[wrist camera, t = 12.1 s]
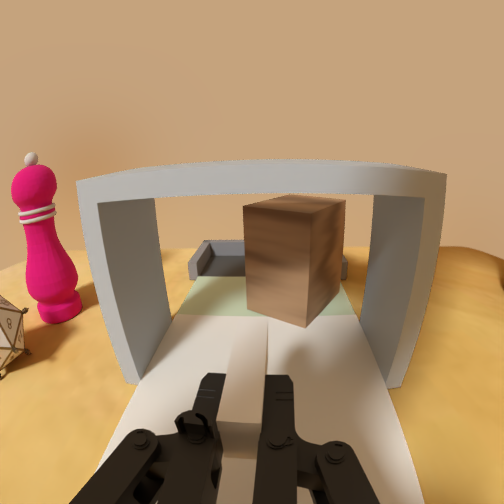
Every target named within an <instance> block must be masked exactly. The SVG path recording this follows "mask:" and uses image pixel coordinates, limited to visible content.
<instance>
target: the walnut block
mask: <svg viewBox="0 0 504 504" xmlns="http://www.w3.org/2000/svg"><path fill="white" fill-rule="evenodd" d="M345 202H346V200H341V199H332V198H322V197H312V196H301V195H286V196H282V197H278V198H273V199H269V200H265V201H261V202H257V203H253V204H249V205H245V206H243V222H244V249H245V274H246V297H247V309H248V310H251V311H254V312H257V313H260V314H263V315H266V316H269V317H271V318H274V319H277V320H281V321H284V322H287V323H290V324H293V325H296V326H299V327H302V328H305V329H306V328H307V327H308V326H309V324H310V323H311V322H312V321H313V320H314V319H315V318H316V317H317V316H318V315H319V314H320V313H321V312H322V311H323V309H324V308H325V307H326V306H327V305H328V304H329V303H330V302H331V301H332V300H333V298H334V297H335V296H336V295H337V294H338V293H339V290H340V280H341V269H342V257H343V243H344V226H345Z"/></svg>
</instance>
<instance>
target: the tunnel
mask: <svg viewBox="0 0 504 504" xmlns="http://www.w3.org/2000/svg"><path fill="white" fill-rule="evenodd" d="M446 178H447V174H444V173H439V172H434V171H429V170H424V169H419V168H413V167H408V166H401V165H396V164H388V163H375V162H360V161H341V160H309V159H273V160H272V159H269V160H268V159H266V160H233V161H213V162H198V163H186V164H174V165H164V166H154V167H145V168H137V169H131V170H126V171H121V172H116V173H111V174H106V175H101V176H97V177H93V178H88V179H84V180H80V181H76V184H77V193H78V202H79V209H80V216H81V222H82V228H83V234H84V239H85V245H86V250H87V255H88V260H89V264H90V269H91V273H92V277H93V281H94V285H95V289H96V293H97V297H98V301H99V304H100V308H101V311H102V315H103V318H104V321H105V325H106V328H107V331H108V334H109V337H110V340H111V343H112V346H113V349H114V352H115V355H116V357H117V360H118V363H119V365H120V368H121V371H122V373H123V376H124V378H125V381H126V383H129V384H135V385H138V386H137V388H136V390H135V392H134V394H133V396H132V398H131V400H130V402H129V404H128V406H127V408H126V410H125V411H124V413H123V415H122V417H121V419H120V421H119V423H118V425H117V428H116V430H115V432H114V434H113V436H112V438H111V440H110V442H109V444H108V446H107V448H106V450H105V452H104V454H103V456H102V458H101V461H100V463H99V465H98V467H97V469H96V471H97V470H98V469H99V468H100V466H101V465H102V464H103V463H104V462H105V461H106V459H107V458H108V457H109V456H110V455H111V453H112V452H113V451H114V450H115V449H116V447H117V446H118V445H119V444H120V442H121V441H122V440H123V439H124V438H125V436H126V435H127V434H128V433H130V432H131V431H133V430H136V429H147V430H150V431H152V432H153V433H155V435H167V434H173V433H176V432H178V430H177V427H176V425H175V422H174V421H175V419H176V417H177V416H178V415H180V414H181V413H182V412H185V411H188V410H192V408H193V404H194V401H195V398H196V395H197V392H198V390H199V385H200V382H201V379H202V378H203V377H204V376H205V375H206V374H207V373H208V372H210V373H225V374H227V369H228V365H229V360H230V356H231V351H232V347H233V342H234V338H235V333H236V329H237V324H238V320H239V319H262V320H268V370H267V374H268V375H289V377H290V378H291V380H292V381H293V386H294V413H295V430H296V432H297V434H298V436H299V437H300V438H301V439H303V440H305V441H307V442H310V443H314V444H318V445H323V444H325V443H327V442H329V441H342V442H345V443H347V444H349V445H350V446H351V447H352V449H353V450H354V452H355V454H356V456H357V458H358V460H359V462H360V464H361V466H362V468H363V470H364V472H365V474H366V476H367V478H368V480H369V482H370V484H371V486H372V488H373V490H374V492H375V494H376V496H377V498H378V500H379V502H380V504H425V503H424V499H423V495H422V492H421V488H420V485H419V481H418V478H417V474H416V471H415V468H414V465H413V461H412V458H411V455H410V452H409V449H408V446H407V443H406V440H405V437H404V434H403V431H402V428H401V425H400V422H399V419H398V417H397V414H396V411H395V408H394V406H393V403H392V400H391V398H390V395H389V392H388V390H387V389H391V388H397V387H400V386H401V384H402V381H403V379H404V376H405V373H406V371H407V368H408V365H409V363H410V360H411V357H412V354H413V351H414V348H415V345H416V342H417V339H418V335H419V332H420V329H421V325H422V322H423V318H424V314H425V311H426V307H427V303H428V299H429V295H430V291H431V286H432V282H433V277H434V272H435V267H436V262H437V256H438V250H439V244H440V238H441V230H442V223H443V214H444V205H445V193H446ZM247 193H337V194H338V193H339V194H368V195H369V194H370V195H374V203H373V218H372V231H371V242H370V252H369V261H368V270H367V277H366V285H365V292H364V298H363V305H362V311H361V317H360V322H359V320H358V318H357V315H356V314H355V315H331V316H317V317H316V318H315V319H314V320H313V321H312V322H311V323H310V324H309V326H308V327H307V328H306V329H305V328H302V327H299V326H296V325H293V324H290V323H287V322H284V321H281V320H277V319H274V318H271V317H264V316H211V315H187V314H176V315H175V317H174V319H173V321H172V319H171V313H170V308H169V302H168V297H167V291H166V285H165V279H164V272H163V266H162V259H161V252H160V244H159V237H158V229H157V220H156V211H155V201H154V198H159V197H175V196H193V195H215V194H247ZM256 461H257V459H239V458H227V457H224V455H222V461H221V463H222V473H221V479H220V485H219V490H218V496H217V501H216V504H252V501H253V491H254V482H255V472H256ZM96 471H95V472H96ZM94 474H95V473H94ZM157 502H158V501H157ZM157 502H156V504H157ZM297 504H313V501H312V498H311V495H310V492H309V489H306V488H302V487H298V486H297Z"/></svg>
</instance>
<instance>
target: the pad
mask: <svg viewBox="0 0 504 504" xmlns="http://www.w3.org/2000/svg"><path fill="white" fill-rule="evenodd" d="M177 314H187V315H211V316H264V317H269V316H266V315H263V314H260V313H257V312H254V311H251V310H248V309H247V297H246V277H211V276H198V277H197V279H196V281H195V282H194V284H193V286H192V288H191V289H190V291H189V293H188V295H187V297H186V298H185V300H184V302H183V304H182V305H181V307H180V309H179V311H178V313H177ZM331 315H355V312H354V310H353V308H352V305H351V303H350V301H349V299H348V297H347V294H346V292H345V290H344V288H343V286H342V284H341V282H340V290H339V293H338V294H337V295H336V296H335V297H334V298H333V300H332V301H331V302H330V303H329V304H328V305H327V306H326V307H325V308H324V309H323V311H322V312H321V313H320V314H319V315H318V316H331Z"/></svg>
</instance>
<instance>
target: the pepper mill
mask: <svg viewBox="0 0 504 504" xmlns="http://www.w3.org/2000/svg"><path fill="white" fill-rule="evenodd" d="M37 162H38V156H37V154H36V153H33V152H31V153H28V154H27V155H26V157H25V165H26V166H27V167H26V168H24V169H22V170H21V171H20V172H18V173H17V174H16V176H15V177H14V179H13V182H12V186H11V194H12V199H13V201H14V203H15V204H16V205H17V206H18V207H19V208H20V210H21V211H20V212H19V213H18V215H19V216H20V224H23V226H24V230H25V234H26V240H27V252H28V254H27V265H26V284H27V288H28V292H29V294H30V295H31V296H32V297H33V298H34V299H35V300H37V301H38V305H37V308H38V311H39V314H40V317H41V319H42V320H43V321H44V322H46V323H61V322H64V321H67V320H69V319H71V318H73V317H74V316H76V315H77V314H78V313H79V312H80V311H81V308H82V302H81V299H80V295H79V293H78V292H77V291H76V290H75V287H76V285H77V281H78V274H77V271H76V268H75V266H74V264H73V262H72V260H71V258H70V257H69V256H68V254H67V253H66V251H65V250H64V248H63V247H62V245H61V243H60V241H59V239H58V237H57V234H56V230H55V225H54V215H56V211H55V208H54V207H55V203H52V199H53V196H54V194H55V192H56V189H57V183H56V178H55V175H54V173H53V172H52V170H51V169H50V168H48V167H46V166H44V165H36V164H37Z"/></svg>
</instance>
